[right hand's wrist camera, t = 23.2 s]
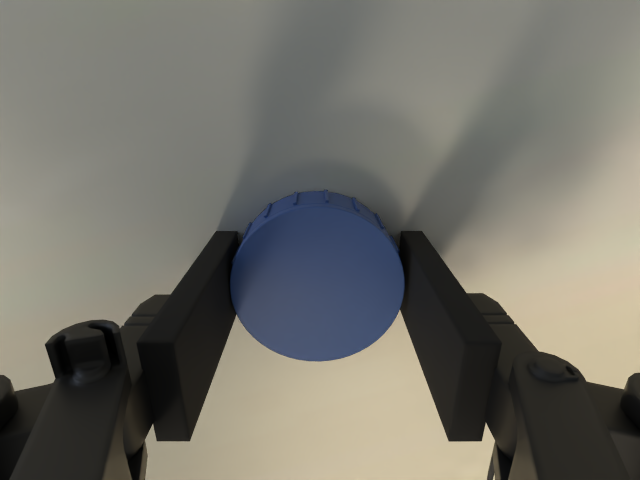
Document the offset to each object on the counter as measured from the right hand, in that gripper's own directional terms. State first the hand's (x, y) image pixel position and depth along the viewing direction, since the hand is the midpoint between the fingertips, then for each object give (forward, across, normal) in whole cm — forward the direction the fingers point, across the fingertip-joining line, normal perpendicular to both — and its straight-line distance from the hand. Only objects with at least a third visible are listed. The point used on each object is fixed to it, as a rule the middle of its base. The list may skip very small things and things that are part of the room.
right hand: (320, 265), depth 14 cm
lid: (-2, 0, 0) cm, 2 cm away
